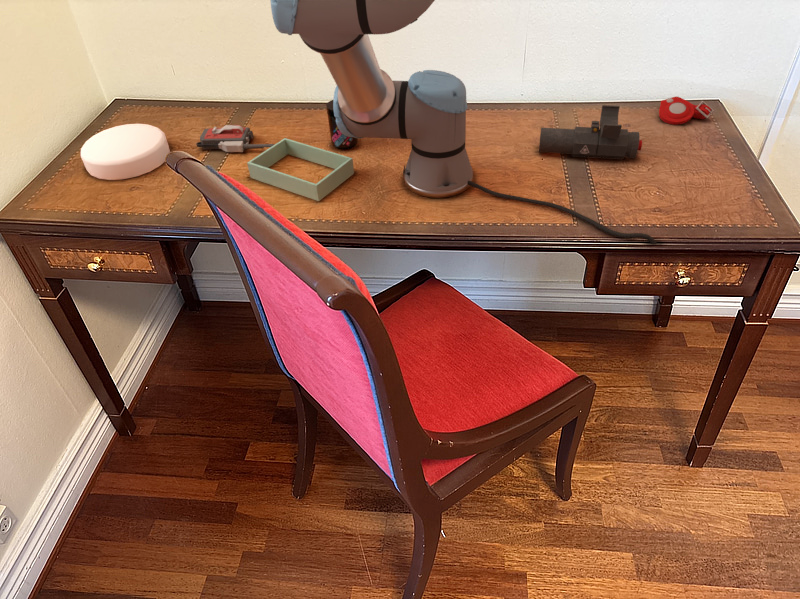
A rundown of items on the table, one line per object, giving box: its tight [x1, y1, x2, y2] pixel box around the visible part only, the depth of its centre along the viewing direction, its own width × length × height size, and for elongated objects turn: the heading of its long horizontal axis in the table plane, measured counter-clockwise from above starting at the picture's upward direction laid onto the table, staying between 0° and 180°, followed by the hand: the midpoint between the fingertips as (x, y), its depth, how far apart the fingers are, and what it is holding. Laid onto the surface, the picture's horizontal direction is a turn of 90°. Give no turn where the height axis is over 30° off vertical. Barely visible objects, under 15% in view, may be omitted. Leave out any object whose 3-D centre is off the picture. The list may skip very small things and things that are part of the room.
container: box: [80, 123, 171, 181], centre depth 153 cm, size 20×20×5 cm
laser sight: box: [538, 104, 643, 160], centre depth 142 cm, size 10×22×10 cm, turn 78°
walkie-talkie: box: [195, 124, 275, 153], centre depth 155 cm, size 9×4×20 cm
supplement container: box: [325, 99, 359, 151], centre depth 151 cm, size 7×7×10 cm
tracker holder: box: [658, 96, 715, 126], centre depth 156 cm, size 12×4×10 cm
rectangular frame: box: [246, 137, 355, 202], centre depth 143 cm, size 20×13×4 cm, turn 57°
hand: (386, 17), depth 137 cm, fingers open, 13 cm apart
